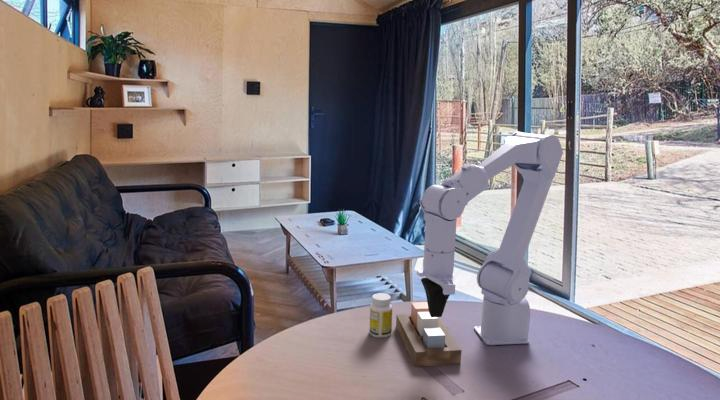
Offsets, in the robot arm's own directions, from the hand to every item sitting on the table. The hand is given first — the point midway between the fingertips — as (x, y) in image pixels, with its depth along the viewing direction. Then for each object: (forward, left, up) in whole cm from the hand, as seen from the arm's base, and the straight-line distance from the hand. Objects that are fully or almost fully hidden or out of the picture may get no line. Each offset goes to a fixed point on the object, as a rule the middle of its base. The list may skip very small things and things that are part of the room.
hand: (435, 315), depth 101 cm
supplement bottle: (+9, -11, -9) cm, 16 cm away
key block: (0, -5, -9) cm, 10 cm away
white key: (0, -5, -6) cm, 8 cm away
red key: (0, -10, -6) cm, 12 cm away
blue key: (0, 0, -7) cm, 7 cm away
